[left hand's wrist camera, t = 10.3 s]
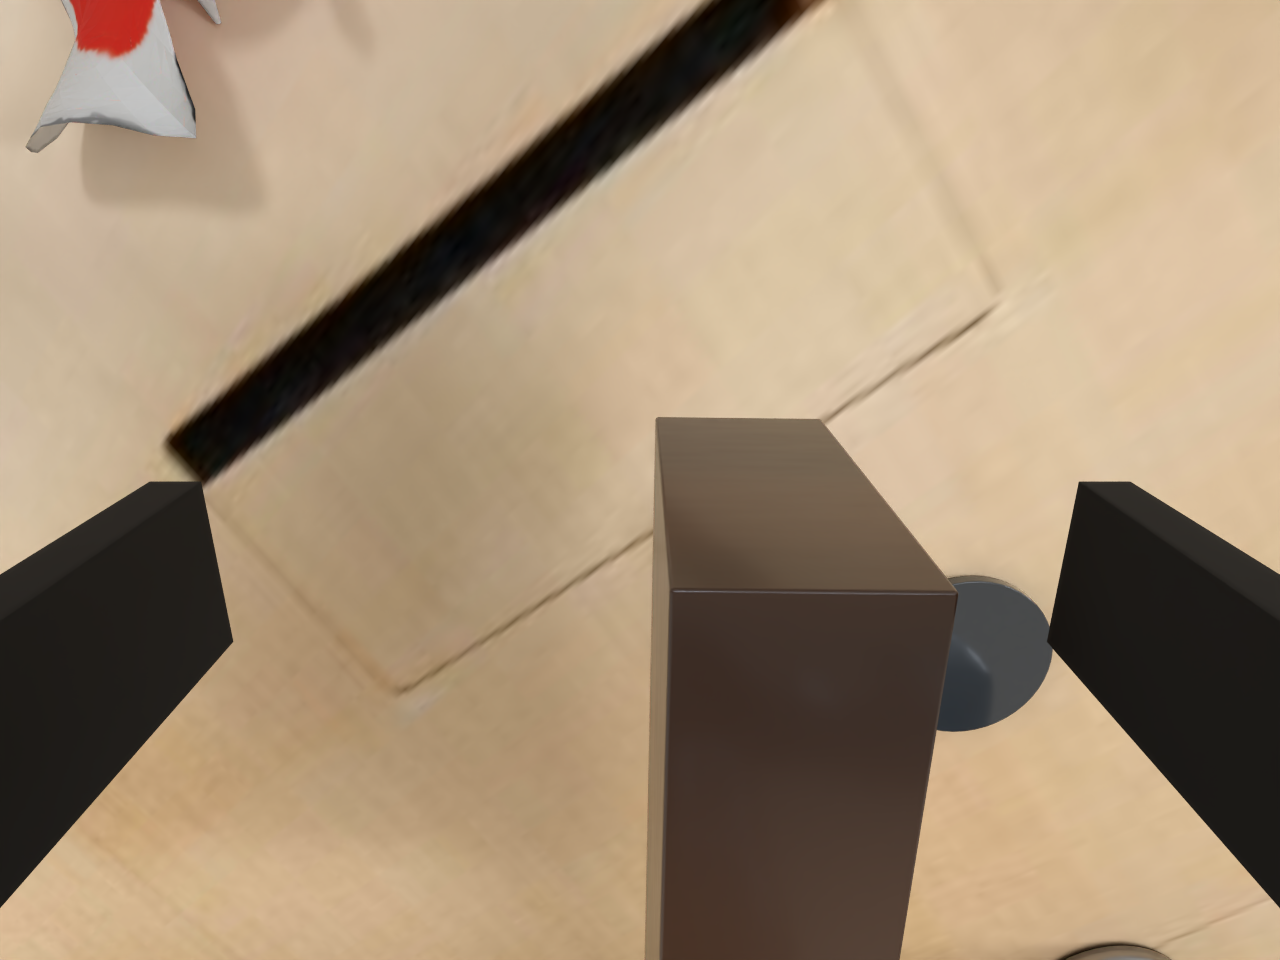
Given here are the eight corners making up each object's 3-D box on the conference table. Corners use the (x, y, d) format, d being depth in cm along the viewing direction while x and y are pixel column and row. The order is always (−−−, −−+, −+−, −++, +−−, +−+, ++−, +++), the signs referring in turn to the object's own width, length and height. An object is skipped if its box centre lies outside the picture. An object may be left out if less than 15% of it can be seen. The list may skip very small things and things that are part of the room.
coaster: (885, 574, 37) (889, 580, 36) (1061, 576, 37) (1068, 582, 36) (866, 723, 39) (869, 731, 39) (1030, 725, 39) (1036, 732, 39)
